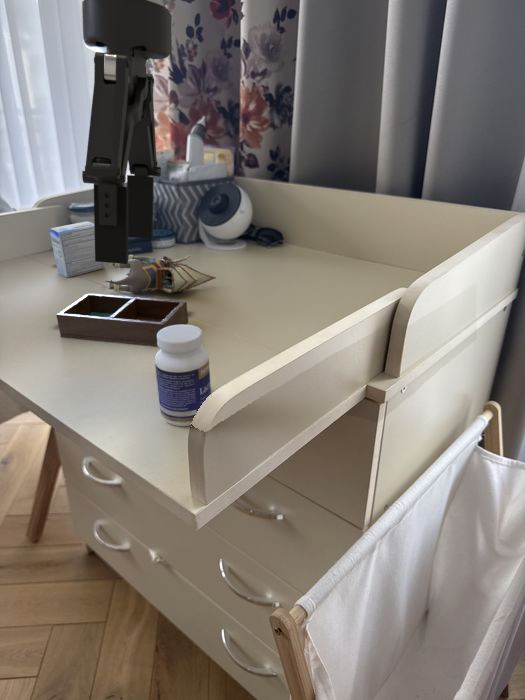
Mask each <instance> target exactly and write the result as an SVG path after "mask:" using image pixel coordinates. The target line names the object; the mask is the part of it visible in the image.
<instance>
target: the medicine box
mask: <svg viewBox="0 0 525 700" xmlns="http://www.w3.org/2000/svg"><path fill="white" fill-rule="evenodd" d="M49 236H50V240H51V241H50V242H51V246H52V251H53V255H54V261H55V265H56V271H57V273H58V274H60V275H62V276H63V277H65V278H72V277H76V276H79V275H83V274H87V273H90V272H95V271H99V270H101V269H105V268H106V266H105V262H95V227H94V223H93V222H91V221H82V222H75V223H71V224H66V225H60V226H56V227H51V228H49Z"/></svg>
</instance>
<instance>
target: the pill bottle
mask: <svg viewBox="0 0 525 700" xmlns="http://www.w3.org/2000/svg"><path fill="white" fill-rule="evenodd" d="M203 336H204V335H203V331H202V329H201V328H200V327H198V326H196V325H192V324H187V325H184V324H181V325H172V326H168V327H165V328H163V329H161V330H160V331H159V332H158V333H157V345H158V348H159V350H158V351H157V352H156V354H155V357H154V366H155V375H156V376H155V377H156V386H157V395H158V403H159V404H158V405H159V412H160V416H161V418H162V420H164V421H165V422H166V423H168V424H170V425H173V426H178V427H187V426H188V427H189V426H191V425H190V424H191V423H192V421H193V418H194V416H195V415H196V413H197V411H198V409H199V408H200V406H201V405H202V403H203V402H204V401H205V400H206V398H207V397H208V396H209V395H210V394H211V395H212V388H211V372H210V357H209V353H208V351H207V350H206V348H205V347H204V346H203V343H204V337H203Z"/></svg>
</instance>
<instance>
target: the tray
mask: <svg viewBox="0 0 525 700" xmlns="http://www.w3.org/2000/svg"><path fill="white" fill-rule="evenodd" d="M188 315H189V314H188V303H187V301H186V300H173V299H161V298H149V297H135V296H124V295H113V294H101V293H100V294H99V293H85V294H84V295H83V296H81V297H80V298H78V299H76V300H75V301H74V302H73V303H71V304H70V305H67V307H66V308H63V310H61V311H60V312H58V313H56V315H55V316H56V320H57V325H58V330H59V335H60V338H68V339H69V338H70V339H79V340H90V341H99V342H109V343H118V344H128V345H136V346H137V345H138V346H147V345H150V346H149V347H156V346H158V345H157V333H158V332H159V331H160V330H161V329H163V328H165V327H168V326H172V325H181V324H184V325H186V324H187V323H188V324H189V316H188ZM188 324H187V325H188Z"/></svg>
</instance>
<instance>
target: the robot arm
mask: <svg viewBox="0 0 525 700" xmlns="http://www.w3.org/2000/svg"><path fill="white" fill-rule="evenodd" d="M171 2H172V0H82V1H81V9H82V10H81V15H82V16H81V17H82V41H83V44H84V45H85V46H86V48H88V49H89V50H91V51H94V57H93V65H94V68H93V69H94V73H93V74H94V76H93V81H94V82H93V91H92V100H91V109H90V119H89V129H88V140H87V148H86V149H87V150H86V158H85V165H84V170H82V171H81V177H82V182H83V184H92V185H93V219H94V220H93V221H94V223H93V224H94V227H95V262H104V263H107V264H112V263H120V264H127V263H128V255H129V238H138V239H150V240H152V239H153V238H154V191H155V189H154V186H155V185H154V184H155V181H154V180H155V177H159V178H160V177H161V175H162V167H161V166H158V163H159V162H158V160H157V144H156V143H157V142H156V141H157V140H156V125H155V124H156V123H155V108H154V84H155V78H154V74H153V73H148V72H147V61H148V60H164V59H167V58H168V57H170V55H171V52H172V24H173V23H172V22H173V20H172V19H173V18H172V16H173V15H172V14H171V12H170V10H169V9H168V8H167V7H165V6H168V5H169V4H170V3H171ZM127 170H128V171H129V173H130V174H127ZM125 184H126V185H125Z"/></svg>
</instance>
